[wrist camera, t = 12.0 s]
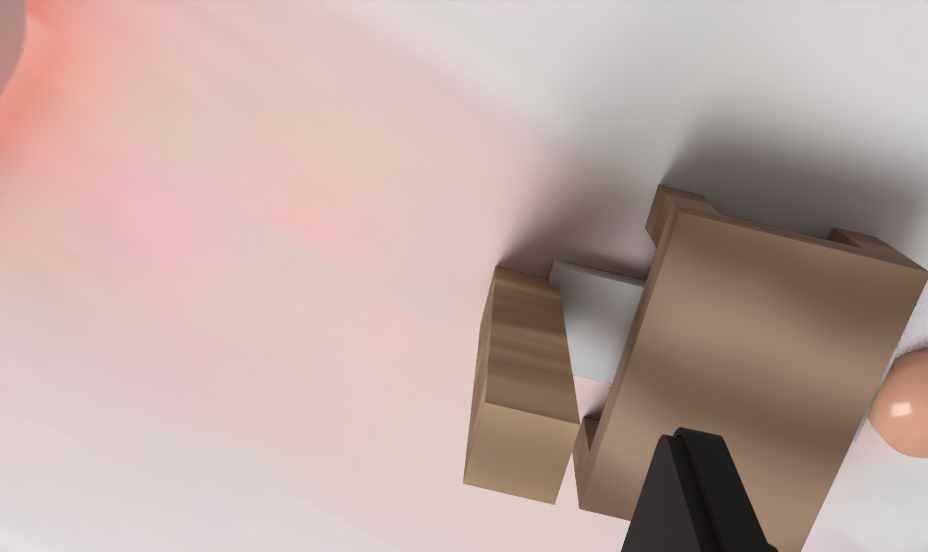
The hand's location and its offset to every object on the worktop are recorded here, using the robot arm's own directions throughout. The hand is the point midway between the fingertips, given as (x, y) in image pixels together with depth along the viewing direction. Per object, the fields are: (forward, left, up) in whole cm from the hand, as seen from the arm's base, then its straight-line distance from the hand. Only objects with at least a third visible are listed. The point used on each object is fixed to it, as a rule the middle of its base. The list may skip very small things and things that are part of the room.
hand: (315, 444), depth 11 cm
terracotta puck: (+7, +24, -25) cm, 36 cm away
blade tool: (+7, +12, -25) cm, 29 cm away
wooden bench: (+7, +14, -25) cm, 29 cm away
